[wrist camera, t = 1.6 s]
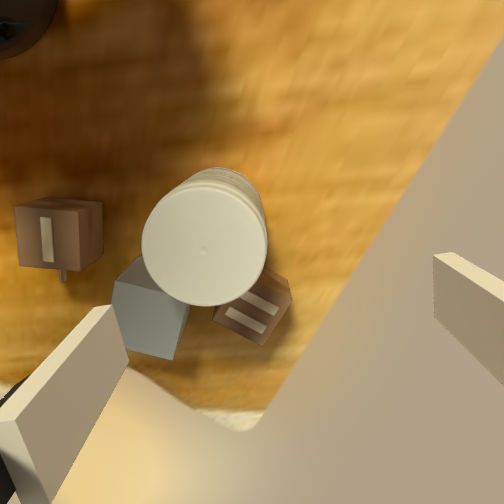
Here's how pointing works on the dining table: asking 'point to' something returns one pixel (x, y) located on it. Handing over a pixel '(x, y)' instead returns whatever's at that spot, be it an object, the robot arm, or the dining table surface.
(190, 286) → the supplement tub
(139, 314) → the plain block
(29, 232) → the marked cube left
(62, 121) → the dining table surface
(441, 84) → the dining table surface
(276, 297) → the marked cube right
